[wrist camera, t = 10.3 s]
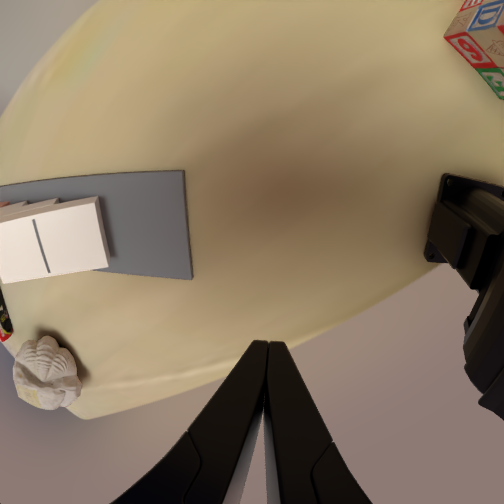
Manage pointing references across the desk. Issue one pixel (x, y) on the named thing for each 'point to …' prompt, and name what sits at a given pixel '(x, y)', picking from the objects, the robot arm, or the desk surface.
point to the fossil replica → (46, 374)
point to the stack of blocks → (481, 39)
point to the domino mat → (128, 217)
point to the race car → (4, 322)
